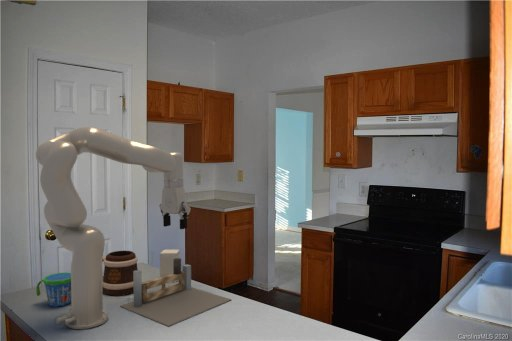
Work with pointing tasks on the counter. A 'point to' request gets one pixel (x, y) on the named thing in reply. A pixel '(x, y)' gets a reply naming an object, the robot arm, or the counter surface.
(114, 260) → the mug
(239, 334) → the counter surface
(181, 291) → the taupe mat
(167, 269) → the supplement box
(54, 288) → the snack cup
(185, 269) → the gate frame
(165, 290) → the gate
